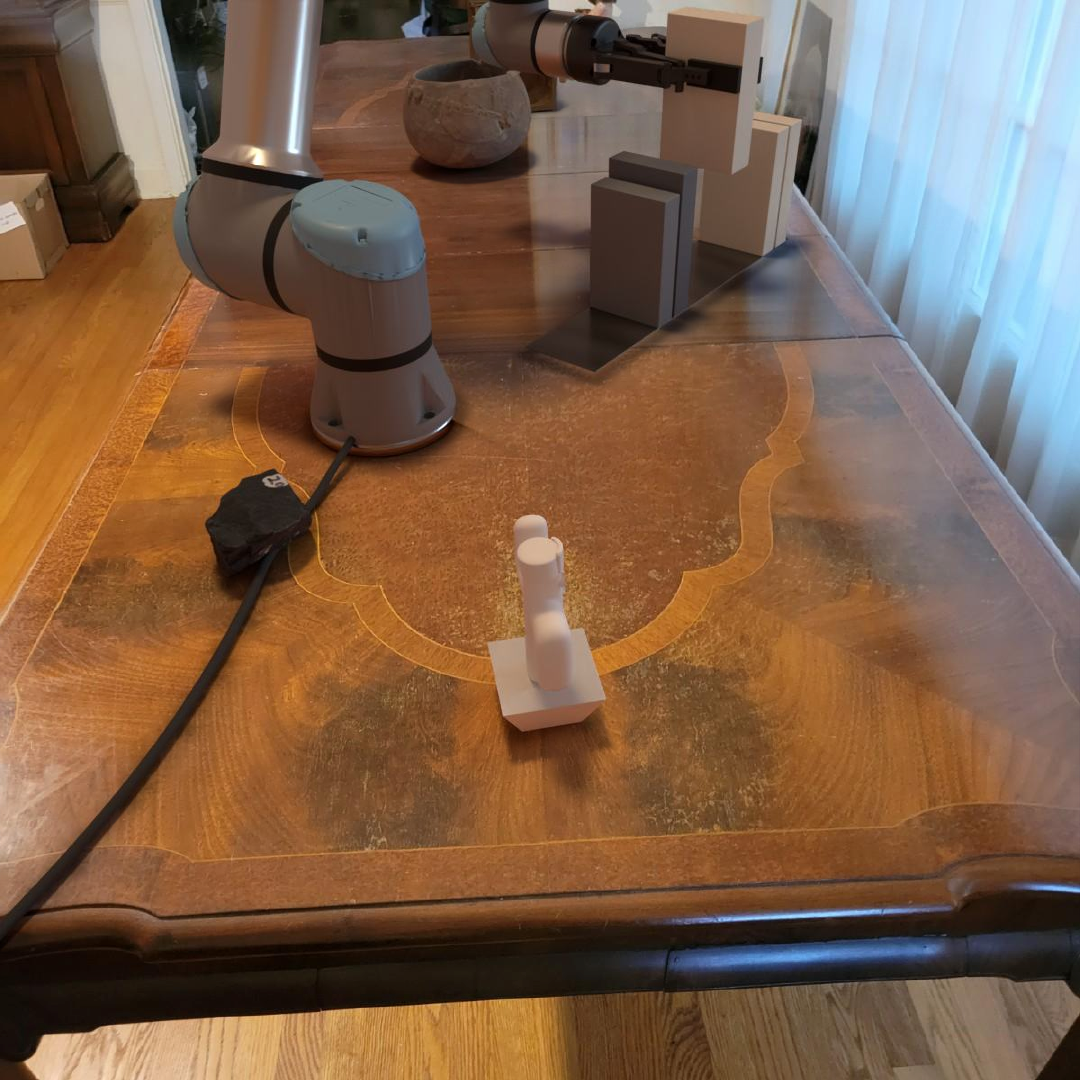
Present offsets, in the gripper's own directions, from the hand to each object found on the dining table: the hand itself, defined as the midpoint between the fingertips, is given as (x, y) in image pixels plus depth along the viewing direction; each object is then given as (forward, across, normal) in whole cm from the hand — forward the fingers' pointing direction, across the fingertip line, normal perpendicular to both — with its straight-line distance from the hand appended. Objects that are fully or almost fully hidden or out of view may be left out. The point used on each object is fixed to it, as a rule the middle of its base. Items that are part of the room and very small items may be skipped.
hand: (749, 75), depth 109 cm
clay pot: (-60, -19, -26) cm, 68 cm away
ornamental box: (-85, -58, -26) cm, 106 cm away
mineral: (-7, +69, -26) cm, 74 cm away
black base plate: (-5, +6, -26) cm, 27 cm away
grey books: (-5, +13, -24) cm, 28 cm away
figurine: (+24, +69, -26) cm, 78 cm away
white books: (-5, -13, -25) cm, 28 cm away
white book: (-5, 0, -10) cm, 12 cm away
